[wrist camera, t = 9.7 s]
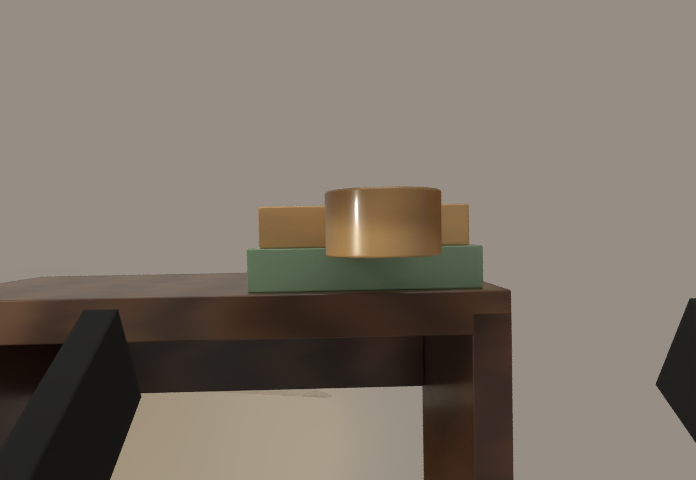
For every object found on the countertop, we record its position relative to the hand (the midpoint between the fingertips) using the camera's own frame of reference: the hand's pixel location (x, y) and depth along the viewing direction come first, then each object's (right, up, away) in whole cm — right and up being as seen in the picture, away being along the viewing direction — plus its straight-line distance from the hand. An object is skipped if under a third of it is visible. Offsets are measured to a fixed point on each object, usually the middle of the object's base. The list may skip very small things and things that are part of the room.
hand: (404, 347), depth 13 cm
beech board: (-1, +2, +13) cm, 13 cm away
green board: (-1, 0, +19) cm, 19 cm away
